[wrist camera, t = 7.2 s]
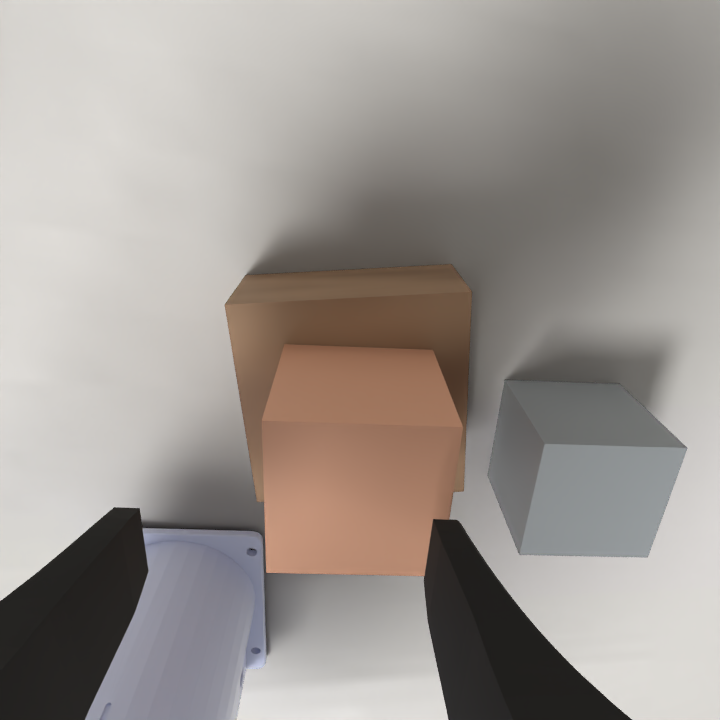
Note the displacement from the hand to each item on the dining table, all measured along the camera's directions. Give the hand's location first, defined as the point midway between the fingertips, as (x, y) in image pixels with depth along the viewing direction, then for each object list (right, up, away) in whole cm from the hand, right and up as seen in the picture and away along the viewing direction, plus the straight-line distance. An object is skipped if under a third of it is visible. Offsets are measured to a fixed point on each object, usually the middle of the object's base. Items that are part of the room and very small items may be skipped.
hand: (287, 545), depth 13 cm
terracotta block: (+2, +3, +6) cm, 6 cm away
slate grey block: (+10, +1, +11) cm, 15 cm away
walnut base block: (+2, +5, +9) cm, 10 cm away
